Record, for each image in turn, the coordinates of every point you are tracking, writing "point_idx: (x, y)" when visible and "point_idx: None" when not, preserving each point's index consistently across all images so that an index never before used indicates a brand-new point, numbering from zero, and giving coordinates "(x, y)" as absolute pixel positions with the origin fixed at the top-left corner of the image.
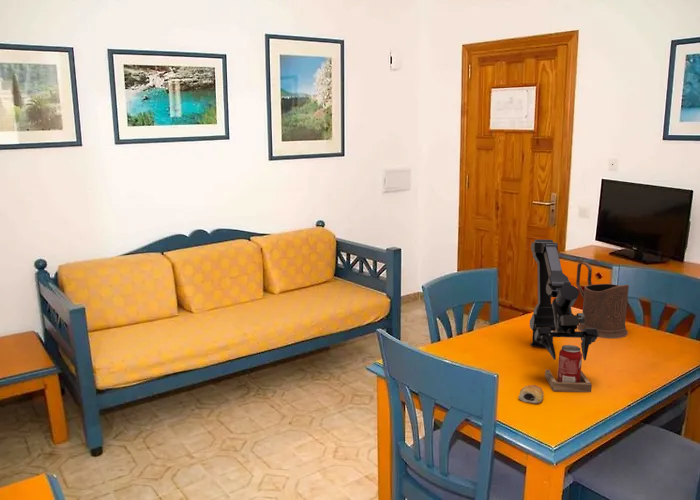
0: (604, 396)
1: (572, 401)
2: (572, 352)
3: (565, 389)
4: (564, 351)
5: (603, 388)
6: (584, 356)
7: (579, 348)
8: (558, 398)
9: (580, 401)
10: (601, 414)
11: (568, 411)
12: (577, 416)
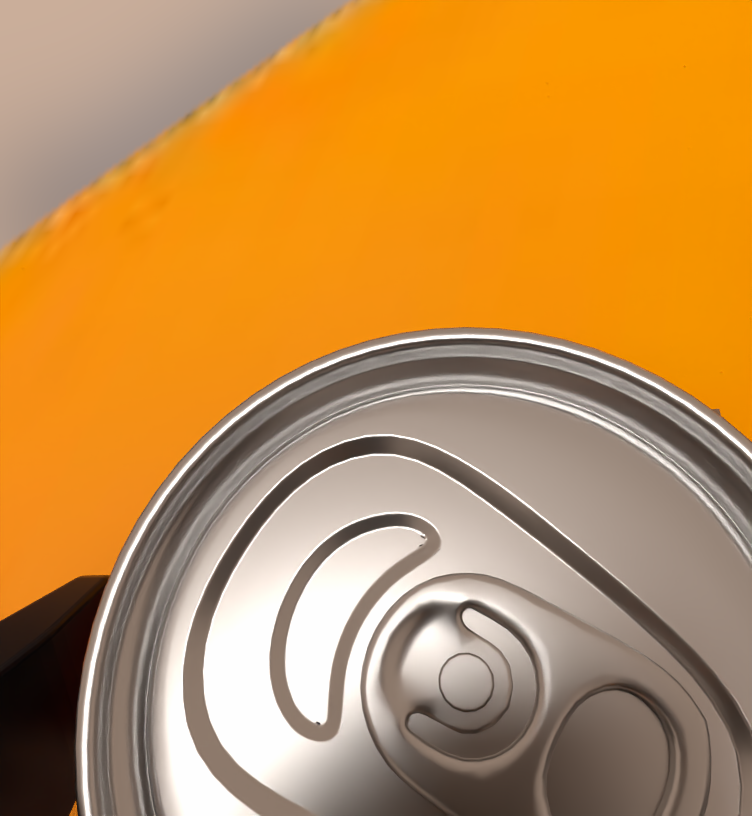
0: (140, 380)
1: (504, 242)
2: (481, 352)
3: None
4: (744, 502)
5: (52, 585)
6: (80, 615)
7: (102, 691)
8: (640, 286)
9: (424, 251)
10: (315, 69)
11: (579, 74)
12: (519, 18)
